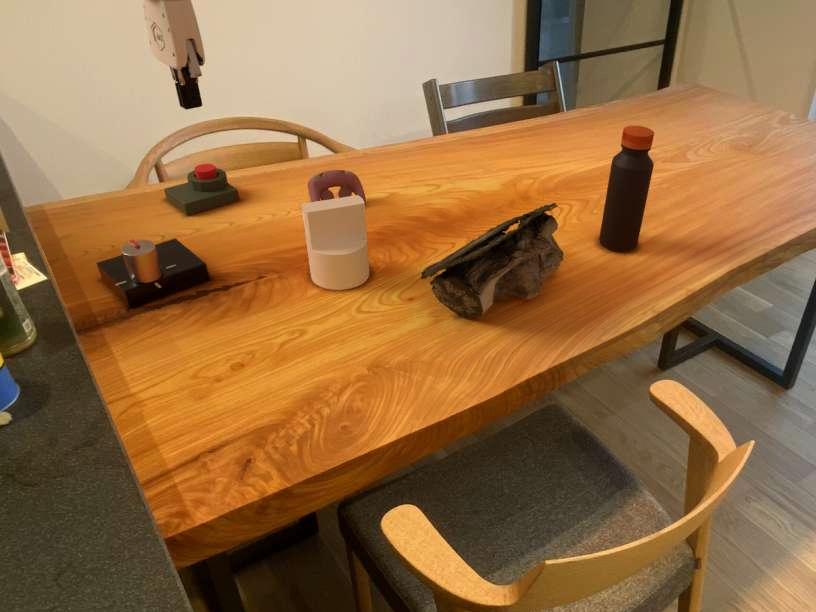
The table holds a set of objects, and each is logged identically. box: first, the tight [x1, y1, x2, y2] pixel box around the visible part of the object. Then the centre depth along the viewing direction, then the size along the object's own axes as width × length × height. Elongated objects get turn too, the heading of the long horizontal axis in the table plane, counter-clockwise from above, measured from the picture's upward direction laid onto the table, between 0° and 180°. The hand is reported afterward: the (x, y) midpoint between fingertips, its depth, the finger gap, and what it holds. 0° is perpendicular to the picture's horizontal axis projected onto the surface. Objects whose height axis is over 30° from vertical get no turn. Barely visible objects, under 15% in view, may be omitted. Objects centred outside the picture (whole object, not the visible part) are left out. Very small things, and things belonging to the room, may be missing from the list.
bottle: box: [598, 125, 655, 253], centre depth 115 cm, size 7×7×20 cm
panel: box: [95, 238, 211, 309], centre depth 103 cm, size 12×12×3 cm
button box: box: [163, 167, 240, 216], centre depth 125 cm, size 10×8×4 cm
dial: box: [120, 239, 163, 283], centre depth 98 cm, size 4×4×5 cm
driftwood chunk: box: [420, 202, 564, 320], centre depth 103 cm, size 28×13×15 cm
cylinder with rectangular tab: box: [301, 194, 370, 291], centre depth 105 cm, size 9×9×12 cm
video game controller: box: [307, 169, 367, 205], centre depth 126 cm, size 10×5×7 cm, turn 116°
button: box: [193, 163, 217, 180], centre depth 125 cm, size 4×4×2 cm
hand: (191, 106), depth 117 cm, fingers closed
